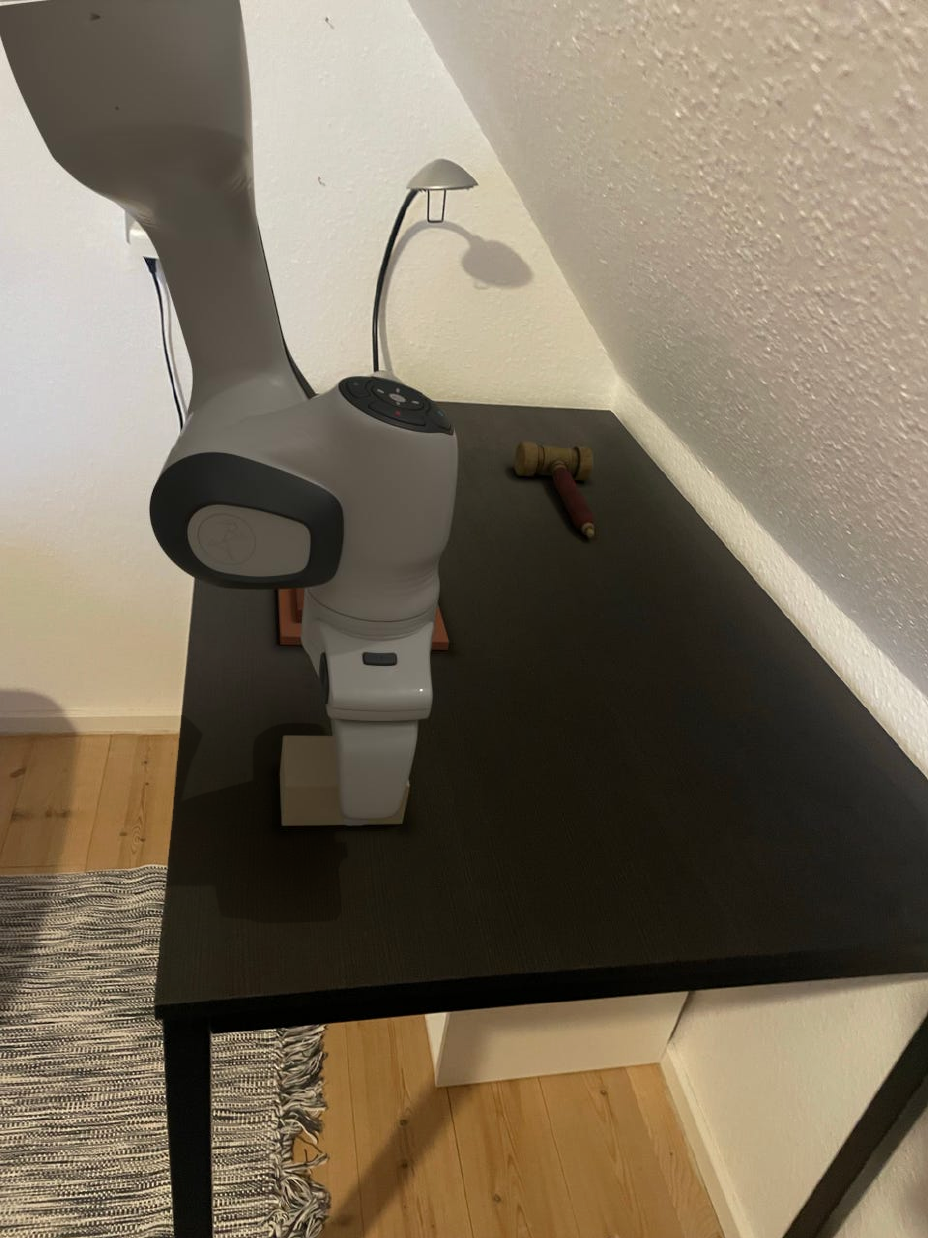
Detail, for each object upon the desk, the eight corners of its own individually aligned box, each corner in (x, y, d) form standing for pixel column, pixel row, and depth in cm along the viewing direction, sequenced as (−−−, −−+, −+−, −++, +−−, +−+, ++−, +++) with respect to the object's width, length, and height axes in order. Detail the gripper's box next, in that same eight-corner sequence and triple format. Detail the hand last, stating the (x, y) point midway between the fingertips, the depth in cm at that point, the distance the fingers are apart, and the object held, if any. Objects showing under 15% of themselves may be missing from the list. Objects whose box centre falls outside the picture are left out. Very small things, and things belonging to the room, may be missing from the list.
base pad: (280, 644, 88) (282, 622, 86) (276, 566, 99) (278, 546, 98) (447, 650, 92) (451, 629, 90) (425, 574, 103) (429, 554, 102)
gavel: (634, 522, 115) (557, 517, 113) (623, 553, 118) (548, 548, 116) (587, 441, 132) (519, 435, 129) (579, 470, 134) (511, 464, 132)
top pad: (281, 826, 69) (285, 786, 67) (279, 774, 74) (283, 735, 71) (402, 824, 71) (410, 786, 69) (393, 774, 76) (400, 736, 74)
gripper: (312, 542, 71) (299, 686, 79) (332, 716, 55) (313, 878, 62) (394, 546, 73) (374, 687, 80) (438, 717, 56) (407, 875, 64)
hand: (348, 772), depth 71 cm, fingers open, 8 cm apart
